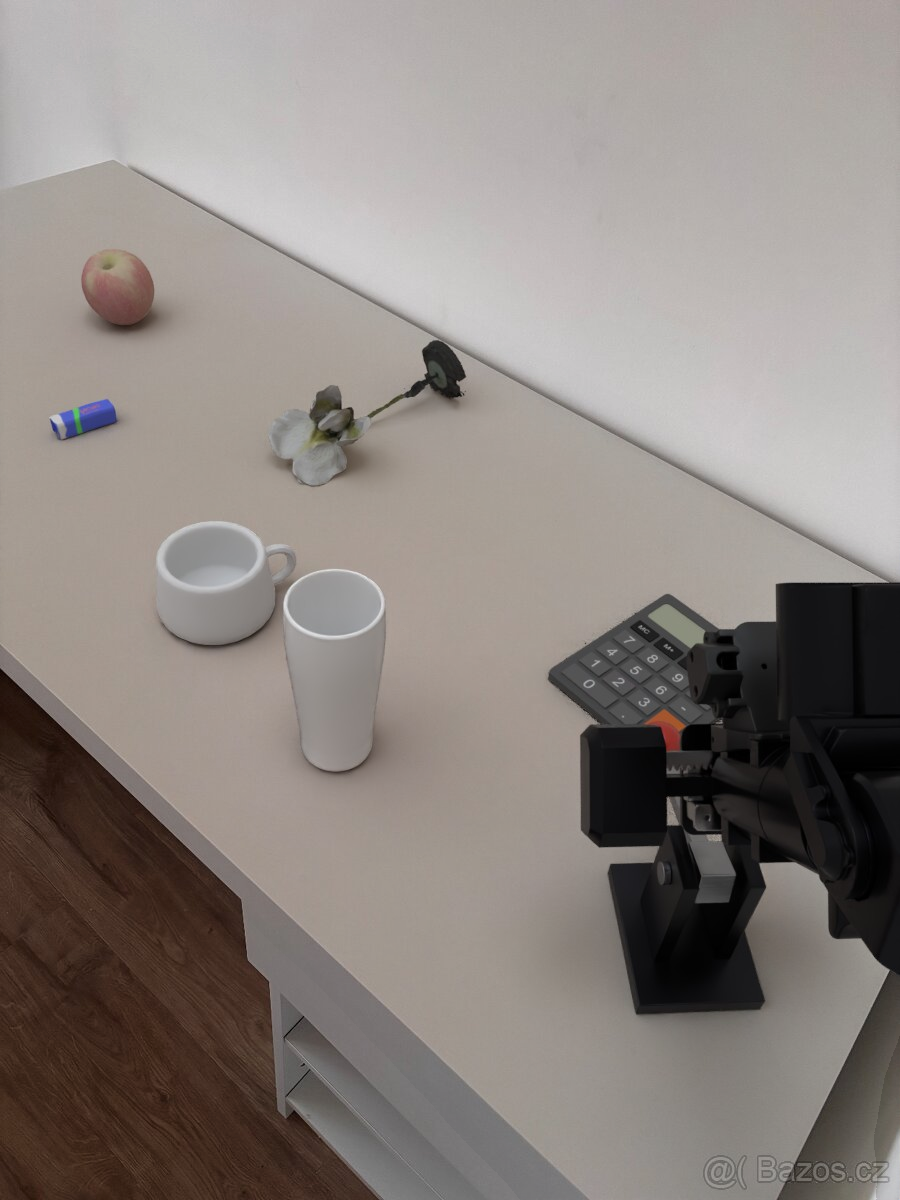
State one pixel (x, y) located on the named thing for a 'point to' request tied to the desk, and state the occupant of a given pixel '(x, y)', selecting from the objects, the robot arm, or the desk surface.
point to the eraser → (83, 419)
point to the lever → (702, 845)
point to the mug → (217, 582)
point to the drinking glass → (335, 663)
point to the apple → (118, 286)
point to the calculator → (639, 669)
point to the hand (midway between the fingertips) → (704, 762)
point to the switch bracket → (686, 932)
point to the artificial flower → (349, 420)
